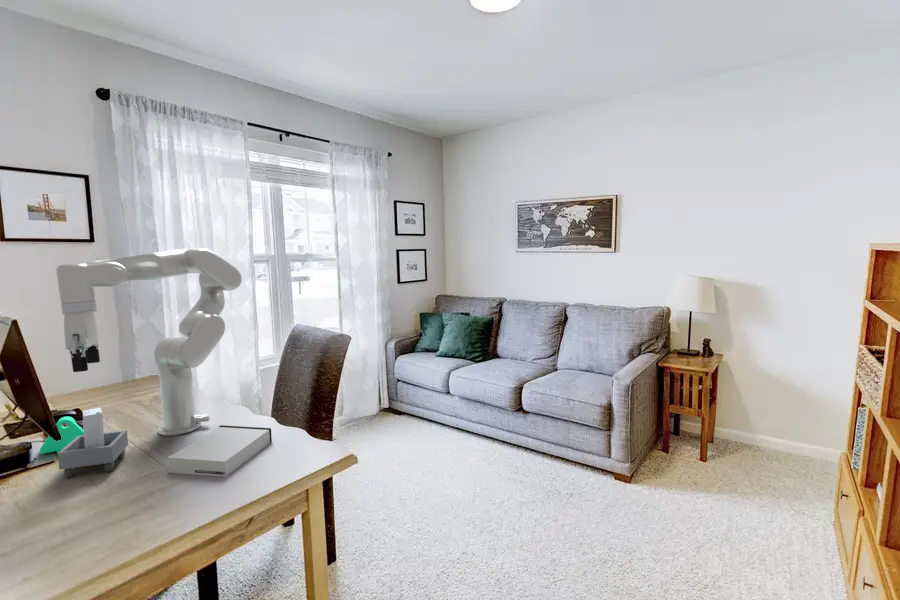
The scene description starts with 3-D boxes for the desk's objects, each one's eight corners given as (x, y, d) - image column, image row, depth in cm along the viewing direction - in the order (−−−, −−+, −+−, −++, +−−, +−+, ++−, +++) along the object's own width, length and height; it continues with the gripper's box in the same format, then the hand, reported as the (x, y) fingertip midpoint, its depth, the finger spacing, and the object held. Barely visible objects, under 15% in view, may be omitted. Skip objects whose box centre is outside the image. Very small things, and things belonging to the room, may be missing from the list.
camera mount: (95, 439, 146) (92, 408, 145) (92, 447, 140) (88, 415, 139) (46, 448, 140) (42, 416, 139) (40, 457, 133) (37, 424, 132)
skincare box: (84, 452, 127) (80, 410, 126) (104, 447, 130) (100, 406, 129) (86, 459, 122) (81, 416, 121) (106, 454, 125) (102, 412, 124)
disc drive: (272, 443, 143) (271, 427, 142) (226, 478, 121) (225, 460, 120) (221, 440, 145) (220, 425, 145) (168, 474, 123) (166, 456, 123)
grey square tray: (129, 454, 134) (126, 430, 134) (114, 472, 123) (111, 446, 122) (80, 460, 130) (77, 435, 130) (60, 480, 119) (57, 453, 118)
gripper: (74, 304, 133) (82, 361, 135) (48, 313, 117) (58, 376, 119) (105, 303, 135) (112, 358, 138) (84, 310, 120) (92, 373, 122)
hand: (87, 366), depth 128 cm, fingers open, 9 cm apart
